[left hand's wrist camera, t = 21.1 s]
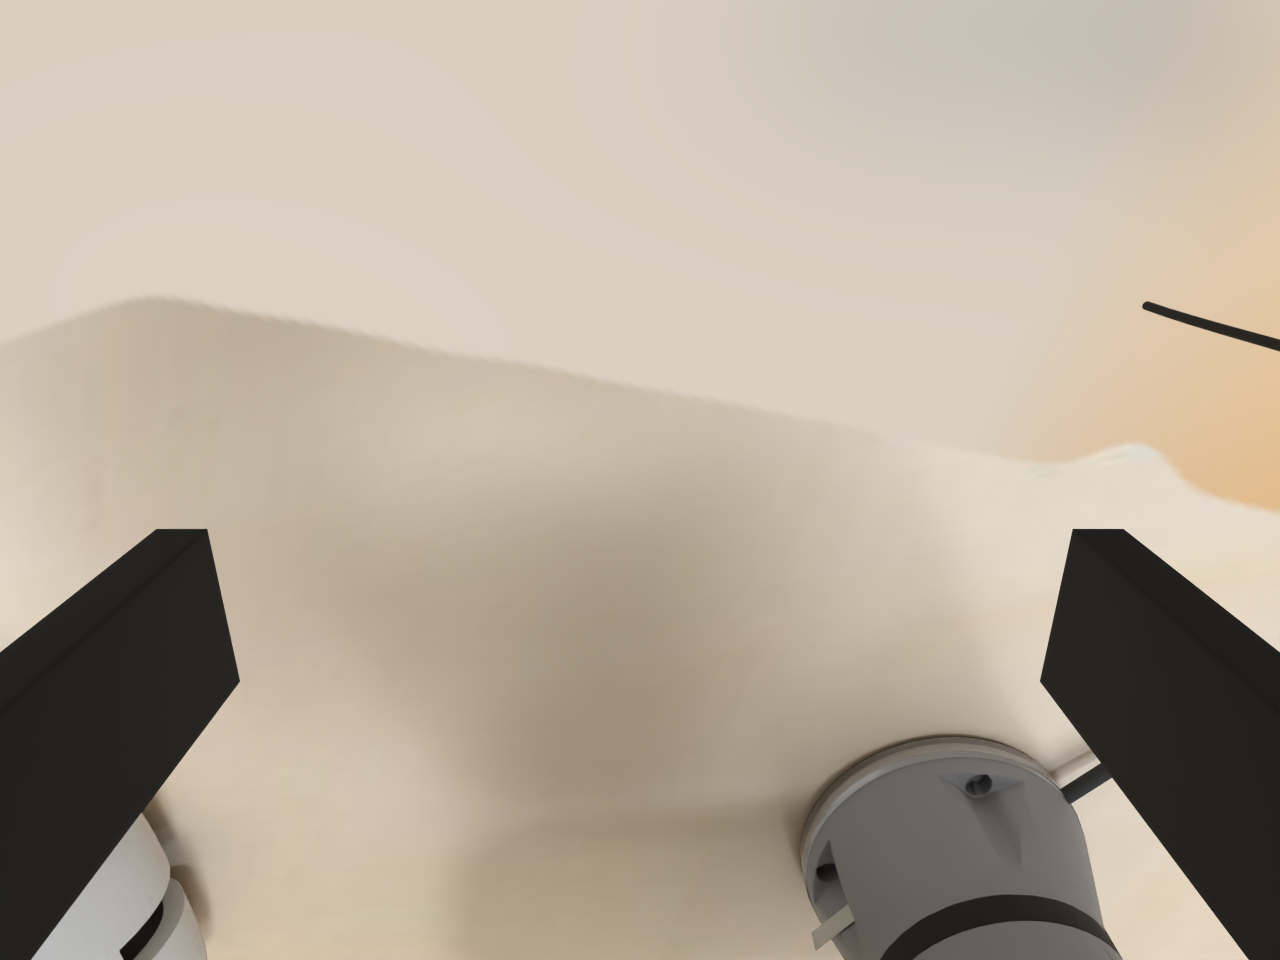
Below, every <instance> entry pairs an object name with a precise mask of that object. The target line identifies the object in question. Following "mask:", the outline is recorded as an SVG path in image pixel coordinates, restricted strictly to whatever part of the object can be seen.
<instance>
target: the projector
mask: <svg viewBox="0 0 1280 960" xmlns="http://www.w3.org/2000/svg"><path fill="white" fill-rule="evenodd" d="M31 960H207V952H206V947H205V943H204V939H203V936H202V933H201V930H200V927H199V924H198V922H197V919H196V917H195V915H194V912H193V910H192V908H191V905H190V903H189V901H188V899H187V897H186V895H185V893H184V891H183V888H182V886H181V885H180V883H179V882H178V881H176V880H175V879H173V878H170V865H169V861H168V859H167V856H166V854H165V852H164V850H163V848H162V847H161V845H160V843H159V841H158V839H157V837H156V835H155V833H154V832H153V830H152V828H151V826H150V825H149V823H148V821H147V820H146V818H145V817H144V815H143V814H142V813H141V814H140V815H139V817H138V818H137V819H136V821H135V822H134V823H133V825H132V826H131V827H130V829H129V830H128V831H127V833H126V834H125V835H124V837H123V838H122V839H121V841H120V842H119V843H118V845H117V846H116V847H115V849H114V850H113V851H112V853H111V854H110V855H109V857H108V858H107V859H106V861H105V862H104V863H103V865H102V866H101V867H100V869H99V870H98V871H97V873H96V874H95V875H94V877H93V878H92V879H91V881H90V882H89V883H88V885H87V886H86V887H85V889H84V890H83V891H82V893H81V894H80V895H79V897H78V898H77V899H76V901H75V902H74V903H73V905H72V906H71V907H70V909H69V910H68V911H67V913H66V914H65V915H64V917H63V918H62V919H61V921H60V922H59V923H58V925H57V926H56V927H55V929H54V930H53V931H52V933H51V934H50V935H49V937H48V938H47V939H46V941H45V942H44V943H43V945H42V946H41V947H40V949H39V950H38V951H37V953H36V954H35V955H34V957H33V958H32V959H31Z"/></svg>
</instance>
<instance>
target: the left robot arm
mask: <svg viewBox="0 0 1280 960" xmlns="http://www.w3.org/2000/svg"><path fill="white" fill-rule="evenodd" d="M1142 308H1143V309H1144V310H1146V311H1149V312H1152V313H1155V314H1158V315H1161V316H1164V317H1167V318H1170V319H1173V320H1176V321H1179V322H1182V323H1185V324H1188V325H1192V326H1195V327H1198V328H1201V329H1205V330H1208V331H1211V332H1215V333H1218V334H1222V335H1225V336H1228V337H1232V338H1235V339H1239V340H1242V341H1245V342H1249V343H1252V344H1256V345H1259V346H1262V347H1266V348H1270V349H1273V350H1276V351H1279V352H1280V339H1276V338H1273V337H1269V336H1266V335H1262V334H1258V333H1255V332H1251V331H1247V330H1244V329H1240V328H1236V327H1233V326H1229V325H1225V324H1222V323H1218V322H1215V321H1211V320H1208V319H1204V318H1200V317H1197V316H1193V315H1190V314H1187V313H1183V312H1180V311H1177V310H1174V309H1170V308H1167V307H1164V306H1161V305H1158V304H1155V303H1152V302H1149V301H1146V302H1144V303H1143V305H1142ZM239 682H240V679H239V674H238V670H237V665H236V661H235V656H234V651H233V647H232V642H231V637H230V633H229V628H228V624H227V619H226V614H225V610H224V605H223V600H222V596H221V591H220V586H219V582H218V577H217V573H216V568H215V563H214V559H213V554H212V549H211V545H210V540H209V535H208V531H207V529H156V530H155V531H154V532H152V533H151V534H150V535H149V536H147V537H146V538H145V539H143V540H142V541H141V542H140V543H138V544H137V545H136V546H135V547H133V548H132V549H131V550H129V551H128V552H127V553H126V554H124V555H123V556H122V557H121V558H119V559H118V560H117V561H116V562H114V563H113V564H112V565H110V566H109V567H108V568H107V569H105V570H104V571H103V572H102V573H100V574H99V575H98V576H97V577H95V578H94V579H93V580H91V581H90V582H89V583H88V584H86V585H85V586H84V587H83V588H81V589H80V590H79V591H77V592H76V593H75V594H74V595H72V596H71V597H70V598H69V599H67V600H66V601H65V602H64V603H62V604H61V605H60V606H58V607H57V608H56V609H55V610H53V611H52V612H51V613H50V614H48V615H47V616H46V617H45V618H43V619H42V620H41V621H39V622H38V623H37V624H36V625H34V626H33V627H32V628H31V629H29V630H28V631H27V632H25V633H24V634H23V635H22V636H20V637H19V638H18V639H17V640H15V641H14V642H13V643H12V644H10V645H9V646H8V647H6V648H5V649H4V650H3V651H1V652H0V960H31V959H32V958H33V957H34V955H35V954H36V953H37V951H38V950H39V949H40V947H41V946H42V945H43V943H44V942H45V941H46V939H47V938H48V937H49V935H50V934H51V933H52V931H53V930H54V929H55V927H56V926H57V925H58V923H59V922H60V921H61V919H62V918H63V917H64V915H65V914H66V913H67V911H68V910H69V909H70V907H71V906H72V905H73V903H74V902H75V901H76V899H77V898H78V897H79V895H80V894H81V893H82V891H83V890H84V889H85V887H86V886H87V885H88V883H89V882H90V881H91V879H92V878H93V877H94V875H95V874H96V873H97V871H98V870H99V869H100V867H101V866H102V865H103V863H104V862H105V861H106V859H107V858H108V857H109V855H110V854H111V853H112V851H113V850H114V849H115V847H116V846H117V845H118V843H119V842H120V841H121V839H122V838H123V837H124V835H125V834H126V833H127V831H128V830H129V829H130V827H131V826H132V825H133V823H134V822H135V821H136V819H137V818H138V817H139V815H140V814H141V813H142V811H143V810H144V809H145V807H146V806H147V805H148V803H149V802H150V801H151V799H152V798H153V797H154V795H155V794H156V793H157V791H158V790H159V789H160V787H161V786H162V785H163V783H164V782H165V781H166V779H167V778H168V777H169V775H170V774H171V773H172V771H173V770H174V769H175V767H176V766H177V765H178V763H179V762H180V761H181V759H182V758H183V757H184V755H185V754H186V753H187V751H188V750H189V749H190V747H191V746H192V745H193V743H194V742H195V741H196V739H197V738H198V737H199V735H200V734H201V733H202V731H203V730H204V729H205V727H206V726H207V725H208V723H209V722H210V721H211V719H212V718H213V717H214V715H215V714H216V713H217V711H218V710H219V709H220V707H221V706H222V705H223V703H224V702H225V701H226V699H227V698H228V697H229V695H230V694H231V693H232V691H233V690H234V689H235V687H236V686H237V685H238V683H239ZM1040 682H1041V683H1042V685H1043V686H1044V687H1045V689H1046V690H1047V691H1048V693H1049V694H1050V695H1051V697H1052V698H1053V699H1054V701H1055V702H1056V703H1057V705H1058V706H1059V707H1060V709H1061V710H1062V711H1063V713H1064V714H1065V715H1066V717H1067V718H1068V719H1069V721H1070V722H1071V723H1072V725H1073V726H1074V727H1075V729H1076V730H1077V731H1078V733H1079V734H1080V735H1081V737H1082V738H1083V739H1084V741H1085V742H1086V743H1087V745H1088V746H1089V747H1090V749H1091V750H1092V751H1093V753H1094V754H1095V755H1096V757H1097V758H1098V759H1099V761H1100V762H1101V764H1099V765H1097V766H1096V767H1094V768H1093V769H1091V770H1090V771H1088V772H1086V773H1085V774H1083V775H1082V776H1080V777H1079V778H1077V779H1076V780H1074V781H1072V782H1071V783H1069V784H1068V785H1066V786H1065V787H1063V788H1060V787H1059V785H1058V784H1057V782H1056V781H1055V780H1054V778H1053V777H1052V776H1051V775H1050V774H1049V773H1048V772H1047V770H1046V769H1044V768H1043V767H1042V766H1041V765H1040V764H1039V763H1037V762H1036V761H1035V760H1033V759H1032V758H1030V757H1029V756H1027V755H1025V754H1023V753H1021V752H1019V751H1018V750H1015V749H1013V748H1010V747H1008V746H1006V745H1002V744H999V743H996V742H992V741H987V740H982V739H976V738H968V737H938V738H930V739H923V740H918V741H913V742H909V743H905V744H902V745H898V746H895V747H892V748H890V749H887V750H884V751H882V752H880V753H877V754H875V755H873V756H871V757H869V758H867V759H866V760H864V761H862V762H860V763H858V764H857V765H855V766H854V767H853V768H851V769H850V770H848V771H847V772H846V773H844V774H843V775H842V776H841V777H839V778H838V779H837V780H836V781H835V782H834V783H833V784H832V785H831V786H830V787H829V788H828V789H827V790H826V791H825V793H824V794H823V795H822V796H821V797H820V799H819V800H818V802H817V803H816V805H815V806H814V808H813V810H812V811H811V813H810V815H809V817H808V820H807V822H806V824H805V827H804V831H803V834H802V840H801V846H800V858H801V866H802V871H803V875H804V880H805V884H806V889H807V893H808V897H809V899H810V902H811V904H812V907H813V909H814V910H815V912H816V915H817V917H818V919H819V920H820V922H821V924H822V925H821V926H819V927H818V928H817V929H816V930H814V931H813V932H812V936H813V940H814V945H815V950H817V949H819V948H820V947H821V946H822V945H824V944H825V943H826V942H828V941H829V940H830V939H832V941H833V942H834V944H835V945H836V947H837V948H838V950H839V952H840V953H841V955H842V956H843V958H844V959H845V960H1123V959H1122V957H1121V956H1120V954H1119V952H1118V951H1117V949H1116V947H1115V946H1114V944H1113V942H1112V940H1111V939H1110V937H1109V935H1108V933H1107V932H1106V930H1105V928H1104V926H1103V921H1102V916H1101V911H1100V907H1099V902H1098V897H1097V892H1096V888H1095V883H1094V878H1093V874H1092V869H1091V864H1090V859H1089V855H1088V850H1087V845H1086V841H1085V836H1084V833H1083V830H1082V827H1081V824H1080V821H1079V819H1078V816H1077V814H1076V812H1075V810H1074V808H1073V806H1072V805H1071V803H1073V802H1074V801H1076V800H1077V799H1079V798H1081V797H1082V796H1084V795H1085V794H1087V793H1088V792H1090V791H1092V790H1093V789H1095V788H1096V787H1098V786H1100V785H1101V784H1103V783H1104V782H1106V781H1107V780H1109V779H1111V778H1113V779H1114V781H1115V782H1116V783H1117V785H1118V786H1119V787H1120V789H1121V790H1122V791H1123V793H1124V794H1125V795H1126V797H1127V798H1128V799H1129V801H1130V802H1131V803H1132V805H1133V806H1134V807H1135V809H1136V810H1137V811H1138V813H1139V814H1140V815H1141V817H1142V818H1143V819H1144V821H1145V822H1146V823H1147V825H1148V826H1149V827H1150V829H1151V830H1152V831H1153V833H1154V834H1155V835H1156V837H1157V838H1158V839H1159V841H1160V842H1161V843H1162V845H1163V846H1164V847H1165V849H1166V850H1167V851H1168V853H1169V854H1170V855H1171V857H1172V858H1173V859H1174V861H1175V862H1176V863H1177V865H1178V866H1179V867H1180V869H1181V870H1182V871H1183V873H1184V874H1185V875H1186V877H1187V878H1188V879H1189V881H1190V882H1191V883H1192V885H1193V886H1194V887H1195V889H1196V890H1197V891H1198V893H1199V894H1200V895H1201V897H1202V898H1203V899H1204V901H1205V902H1206V903H1207V905H1208V906H1209V907H1210V909H1211V910H1212V911H1213V913H1214V914H1215V915H1216V917H1217V918H1218V919H1219V921H1220V922H1221V923H1222V925H1223V926H1224V927H1225V929H1226V930H1227V931H1228V933H1229V934H1230V935H1231V937H1232V938H1233V939H1234V941H1235V942H1236V943H1237V945H1238V946H1239V947H1240V949H1241V950H1242V951H1243V953H1244V954H1245V955H1246V957H1247V958H1248V959H1249V960H1280V652H1279V651H1277V650H1276V649H1275V648H1274V647H1272V646H1271V645H1270V644H1268V643H1267V642H1266V641H1265V640H1263V639H1262V638H1261V637H1260V636H1258V635H1257V634H1256V633H1255V632H1253V631H1252V630H1251V629H1249V628H1248V627H1247V626H1246V625H1244V624H1243V623H1242V622H1241V621H1239V620H1238V619H1237V618H1235V617H1234V616H1233V615H1232V614H1230V613H1229V612H1228V611H1227V610H1225V609H1224V608H1223V607H1222V606H1220V605H1219V604H1218V603H1216V602H1215V601H1214V600H1213V599H1211V598H1210V597H1209V596H1208V595H1206V594H1205V593H1204V592H1203V591H1201V590H1200V589H1199V588H1197V587H1196V586H1195V585H1194V584H1192V583H1191V582H1190V581H1189V580H1187V579H1186V578H1185V577H1183V576H1182V575H1181V574H1180V573H1178V572H1177V571H1176V570H1175V569H1173V568H1172V567H1171V566H1170V565H1168V564H1167V563H1166V562H1164V561H1163V560H1162V559H1161V558H1159V557H1158V556H1157V555H1156V554H1154V553H1153V552H1152V551H1151V550H1149V549H1148V548H1147V547H1145V546H1144V545H1143V544H1142V543H1140V542H1139V541H1138V540H1137V539H1135V538H1134V537H1133V536H1131V535H1130V534H1129V533H1128V532H1126V531H1125V530H1124V529H1073V531H1072V535H1071V540H1070V545H1069V549H1068V554H1067V559H1066V563H1065V568H1064V573H1063V577H1062V582H1061V586H1060V591H1059V596H1058V600H1057V605H1056V610H1055V614H1054V619H1053V624H1052V628H1051V633H1050V637H1049V642H1048V647H1047V651H1046V656H1045V661H1044V665H1043V670H1042V674H1041V679H1040Z"/></svg>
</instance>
